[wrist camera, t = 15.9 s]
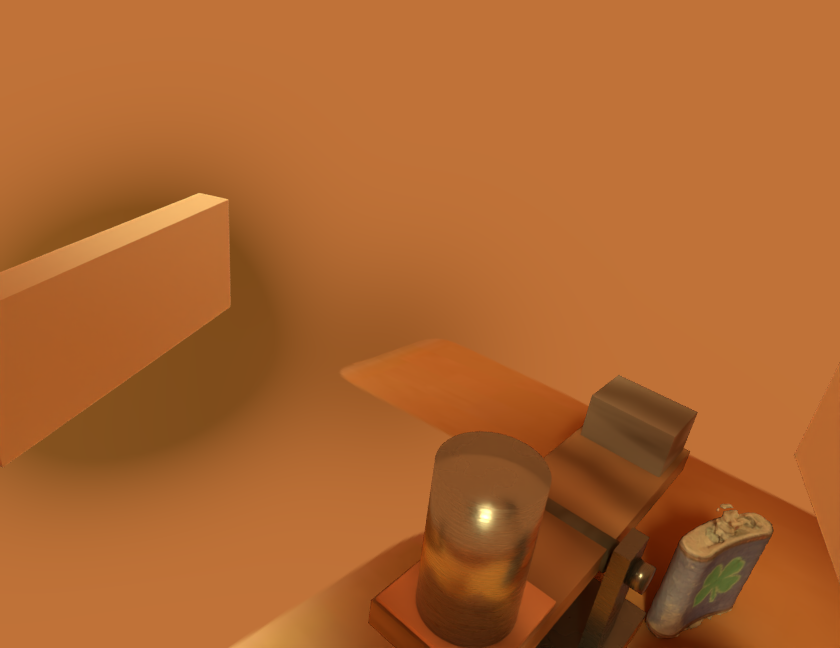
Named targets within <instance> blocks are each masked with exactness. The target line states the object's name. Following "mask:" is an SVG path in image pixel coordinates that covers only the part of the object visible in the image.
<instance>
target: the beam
mask: <svg viewBox="0 0 840 648" xmlns="http://www.w3.org/2000/svg"><path fill="white" fill-rule="evenodd" d="M696 415H697V412H696V411H694V410H692V409H689V408H688V407H686V406H683V405H681V404H679V403H677V402H675V401H673V400H671V399H669V398H666V397H664V396H662V395H660V394H658V393H656V392H654V391H651V390H649V389H647V388H645V387H643V386H641V385H639V384H637V383H635V382H633V381H630V380H628V379H626V378H624V377H622V376H620V375H618V376H617V377H616V378H614V379H613V380H612V381H610V382H609V383H608V384H606V385H605V386H604V387H603V388H601V389H600V390H599V391H597V392H596V393H595V394H594V395H592V398H591V401H590V404H589V408H588V411H587V414H586V418H585V421H584V424H583V426H582V427H581V428H579V429H578V430H577V431H576V432H574V433H573V434H572V435H571V436H570V437H568V438H567V439H566V440H565V441H564V442H562V443H561V444H560V445H559V446H557V447H556V448H555V449H554V450H553V451H551V452H550V453H549V454H548V455H547V456H545V457H544V458H543V459H544V460H545V461H546V463H547V464H548V467H549V469H550V472H551V478H552V481H551V486H550V490H549V494H548V498H547V502H546V506H545V510H544V514H543V518H542V522H541V526H540V530H539V534H538V538H537V542H536V546H535V550H534V554H533V557H532V561H531V565H530V569H529V573H528V577H527V581H526V585H525V589H524V593H523V597H522V601H521V605H520V609H519V613H518V617H517V620H516V623H515V626H514V628H513V629H512V631H511V632H510V633H509V635H508V636H506V637H505V638H504V639H503V640H501V641H500V642H498V643H496V644H494V645H491V646H488V647H482V648H536V646H537V645H538V644H539V643H540V641H541V640H542V639H543V638H544V637H545V635H546V634H547V633H548V632H549V631H550V629H551V628H552V627H553V626H554V625H555V623H556V622H557V621H558V620H559V619H560V617H561V616H562V615H563V614H564V613H565V611H566V610H567V609H568V608H569V606H570V605H571V604H572V603H573V602H574V600H575V599H576V598H577V597H578V596H579V594H580V593H581V592H582V591H583V590H584V588H585V587H586V586H587V585H588V584H589V582H590V581H591V580H592V579H593V578H594V576H595V575H596V574H597V573H598V571H600V572H602V573H604V572H605V571H606V570H607V567H608V564H609V562H610V559H611V556H612V553H613V551H614V549H615V548H616V547H617V546H618V545H619V543H620V542H621V541H622V540H623V539H624V537H625V536H626V535H627V534H628V533H629V531H630V530H631V529H632V528H635V527H636V526H637V524H638V523H639V522H640V521H641V520H642V518H643V517H644V516H645V515H646V514H647V512H648V511H649V510H650V509H651V507H652V506H653V505H654V504H655V503H656V501H657V500H658V499H659V498H660V497H661V495H662V494H663V493H664V492H665V491H666V489H667V488H668V487H669V486H670V485H671V483H672V482H673V481H674V480H675V479H676V477H677V476H678V475H679V474H680V472H681V471H682V470H683V468H684V465H685V463H686V460H687V458H688V456H689V453H690V451H688V450H686V449H684V445H685V443H686V440H687V438H688V435H689V433H690V430H691V428H692V425H693V423H694V420H695V417H696ZM420 561H421V560H419V561H418V562H417V563H416V564H415V565H413V566H412V567H411V568H410V569H408V570H407V571H406V572H405V573H404V574H402V575H401V576H400V577H399V578H398V579H396V580H395V581H394V582H393V583H391V584H390V585H389V586H388V587H387V588H385V589H384V590H383V591H382V592H381V593H379V594H378V595H377V596H376V597H375V598H373V599H372V600H371V607H370V614H369V622H368V623H369V624H370V625H371V626H372V627H373V628H374V629H376V630H377V631H378V632H379V633H380V634H381V635H382V636H383V637H384V638H385V639H387V640H388V641H389V642H390V643H391V644H392V645H393V646H394V647H395V648H466V647H460V646H457V645H454V644H451V643H449V642H446V641H444V640H443V639H441V638H439V637H438V636H437V635H435V634H434V633H433V632H432V631H431V630H430V629H429V628H428V627H427V626H426V625H425V624H424V622H423V621H422V619H421V617H420V615H419V613H418V610H417V607H416V589H417V582H418V575H419V568H420Z"/></svg>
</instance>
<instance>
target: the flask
mask: <svg viewBox="0 0 840 648" xmlns="http://www.w3.org/2000/svg"><path fill="white" fill-rule="evenodd" d="M720 507H721V508H723V509H726V508H733V506H732V505H731V504H721V505H720ZM717 511H719V508H717ZM737 511H738V510H729V511H724V512H723V515H722V517H719V518H717V519H713V520H710V521H708V522H706V523H704V524H702V525H700V526H698V527H696V528H695V529H693V530H692V531H690V532H688V533H687V534H685V535H684V536H683V537H682V538H681V540H680V541H679V543H678V546H677V548H676V550H675V553H674V555H673V558H672V560H671V562H670V565H669V567H668V570H667V572H666V574H665V576H664V578H663V580H662V583H661V585H660V588H659V590H658V591H657V593H656V595H655V597H654V600H653V602H652V605H651V607H650V609H649V610H648V613H647V616H646V621H645V622H646V625H647V627H648V625H649V627H650V628H649V627H648V629H649V630H650V631H651V632H652V633H654V634H655V635H656V637H657V638H673V637H677V636H679V633H680V632H681V631H683V630H685V629H687V630H688V629H689V628H690V629H692V628H694V627H696V628H697V626H698V625H700V624H702V623H701V622H702V621H703V619H704V618H708V619H710V618H711V617H712V616H713V615H715V614H716V615H721V614H722V613H724V612H728V611H731V609H732V607H733V605H734V603H735V601H736V598H737V596H738V595H739V593H740V591H741V590H742V587H743V585H744V584H745V582H746V581H747V579H748V577H749V575H750V574H751V571H752V570H753V568H754V566H755V564H756V562H757V561H758V559H759V557H760V555H761V554H762V552H763V550H764V549H765V545H766V544H767V543H768V541H769V539H770V538H771V536H772V533H773V527H772V524H771V523H770V522H769V521H768V520H766V519H765V518H764V517H762V516H761V515H759V514H757V513H743V514H738V512H737ZM710 620H711V619H710ZM647 622H648V623H647Z"/></svg>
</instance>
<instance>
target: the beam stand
mask: <svg viewBox="0 0 840 648" xmlns="http://www.w3.org/2000/svg"><path fill="white" fill-rule="evenodd" d="M648 540H649V537H648V536H646V535H645V534H643V533H641V532H640V531H638V530H636V529H635V528H632V529H631V530H630V531H629V533H628V534H627V535H626V536H625V537H624V539H623V540H622V541H621V542H620V543H619V545H618V546H617V547H616V548H615V549H614V551H613V553H612V556H611V559H610V562H609V564H608V567H607V570H606V572H605V575H604V578H603V580H602V583H601V582H600V581H598V580H597V579H595V578H593V579H592V580H591V581H590V582H589V584H588V585H587V586H586V587H585V588H584V590H583V591H582V592H581V593H580V594H579V596H578V597H577V598H576V599H575V600H574V602H573V603H572V604H571V605H570V606H569V608H568V609H567V610H566V611H565V613H564V614H563V615H562V616H561V617H560V619H559V620H558V621H557V622H556V623H555V625H554V626H553V627H552V628H551V629H550V631H549V632H548V633H547V634H546V635H545V637H544V638H543V639H542V640H541V641H540V643H539V644H538V645H537V646H536V648H626V647H627V646H628V644H629V643H630V641H631V640H632V638H633V637H634V635H635V634H636V632H637V631H638V629H639V628H640V626H641V624H642V622H643V620H644V617H645V615H646V612H644V611H643V610H641V609H640V608H638V607H637V606H635V605H634V604H632V603H631V602H629V601H628V600H626V599H625V597H626V595H627V592H628V590H629V587H630V588H632V589H633V590H635V591H636V592H638V593H639V594H641V595H642V594H643V593H644V592H645V590H646V588H647V587H648V585H649V583H650V582H651V580H652V578H653V576H654V573H655V571H656V568H655V567H654V566H652V565H651V564H649V563H647V562H646V561H644V560H643V559H641V557H642V555H643V552H644V550H645V547H646V545H647V542H648Z"/></svg>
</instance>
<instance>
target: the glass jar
mask: <svg viewBox="0 0 840 648" xmlns="http://www.w3.org/2000/svg"><path fill="white" fill-rule="evenodd" d="M551 481H552V478H551V472H550V469H549V467H548V464H547V463H546V461H545V460H544V459H543V457H542V456H541V455H540V454H539V453H538V452H537V451H535V450H534V449H533V448H532V447H530V446H529V445H527V444H525V443H523V442H522V441H520V440H517V439H515V438H513V437H510V436H507V435H503V434H499V433H493V432H468V433H463V434H460V435H457V436H454V437H452V438H450V439H449V440H447V441H446V442H444V443H443V444H442V446H441V447H440V448H439V450H438V451H437V454H436V458H435V464H434V471H433V478H432V485H431V492H430V498H429V506H428V513H427V520H426V526H425V533H424V540H423V547H422V554H421V561H420V568H419V575H418V582H417V589H416V607H417V610H418V613H419V615H420V617H421V619H422V621H423V622H424V624H425V625H426V626H427V627H428V628H429V629H430V630H431V631H432V632H433V633H434V634H435V635H437V636H438V637H439V638H441V639H443V640H444V641H446V642H449V643H451V644H454V645H457V646H460V647H466V648H482V647H488V646H491V645H494V644H496V643H498V642H500V641H501V640H503V639H504V638H505V637H506V636H508V635H509V633H510V632H511V631H512V629H513V628H514V626H515V623H516V620H517V617H518V613H519V609H520V605H521V601H522V597H523V593H524V589H525V585H526V581H527V577H528V573H529V569H530V565H531V561H532V557H533V554H534V550H535V546H536V542H537V538H538V534H539V530H540V526H541V522H542V518H543V514H544V510H545V506H546V502H547V498H548V494H549V490H550V486H551Z"/></svg>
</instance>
